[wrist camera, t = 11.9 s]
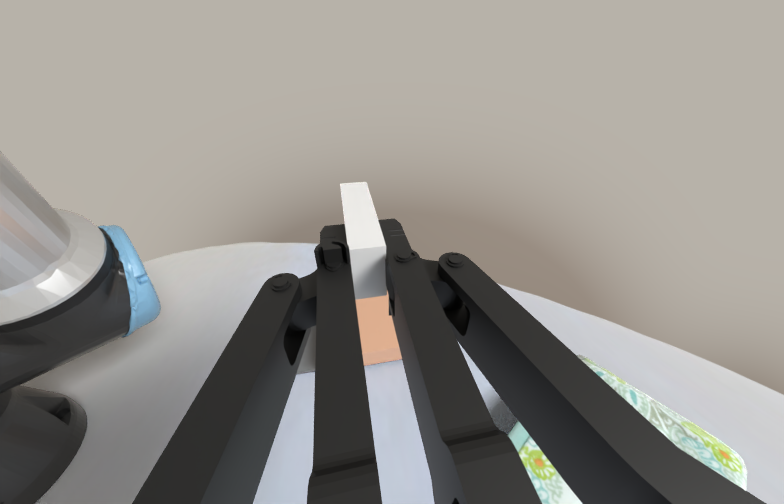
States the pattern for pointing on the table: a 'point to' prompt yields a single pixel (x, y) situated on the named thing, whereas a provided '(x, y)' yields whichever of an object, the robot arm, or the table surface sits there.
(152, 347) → the table surface
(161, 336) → the table surface
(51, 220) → the robot arm
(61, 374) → the table surface
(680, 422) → the towel
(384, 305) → the terracotta slab
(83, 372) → the table surface
